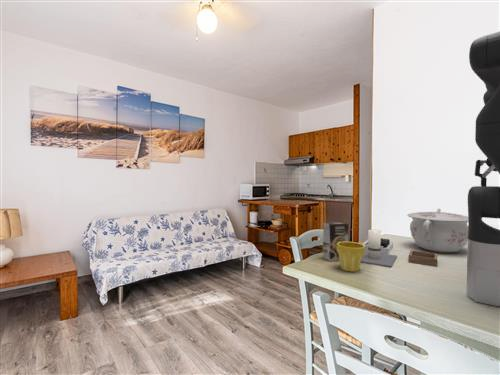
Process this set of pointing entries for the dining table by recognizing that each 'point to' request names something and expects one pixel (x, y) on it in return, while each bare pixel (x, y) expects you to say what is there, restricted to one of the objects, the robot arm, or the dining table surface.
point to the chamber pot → (439, 231)
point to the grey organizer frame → (383, 250)
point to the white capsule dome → (374, 244)
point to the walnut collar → (423, 258)
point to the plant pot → (350, 255)
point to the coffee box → (333, 239)
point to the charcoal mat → (383, 261)
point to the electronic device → (385, 242)
